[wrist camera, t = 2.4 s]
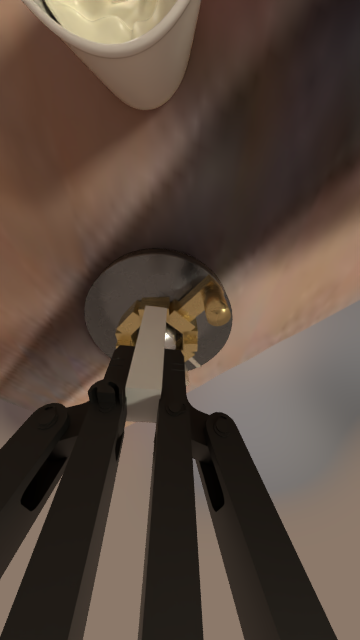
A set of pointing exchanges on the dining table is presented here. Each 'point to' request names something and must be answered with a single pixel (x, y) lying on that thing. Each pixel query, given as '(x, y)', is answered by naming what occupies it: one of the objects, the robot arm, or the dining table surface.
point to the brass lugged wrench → (179, 315)
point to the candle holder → (127, 42)
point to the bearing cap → (151, 281)
